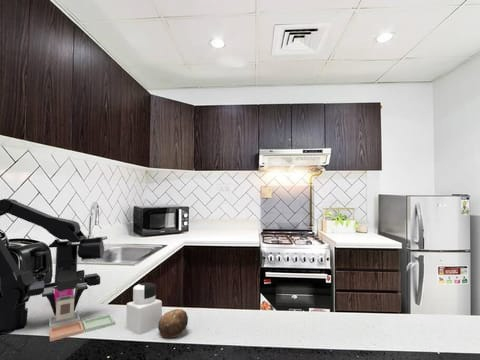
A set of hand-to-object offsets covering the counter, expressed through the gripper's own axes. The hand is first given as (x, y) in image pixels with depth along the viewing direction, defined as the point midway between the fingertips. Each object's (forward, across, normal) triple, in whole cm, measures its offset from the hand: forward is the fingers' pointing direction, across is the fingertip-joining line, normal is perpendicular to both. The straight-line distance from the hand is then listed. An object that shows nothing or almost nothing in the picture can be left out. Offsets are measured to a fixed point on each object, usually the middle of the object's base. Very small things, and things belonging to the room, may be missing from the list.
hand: (64, 312), depth 82 cm
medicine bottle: (+3, +18, -21) cm, 28 cm away
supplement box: (+3, +1, +23) cm, 23 cm away
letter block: (+1, 0, 0) cm, 1 cm away
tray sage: (+3, +8, -10) cm, 13 cm away
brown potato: (+3, +23, -30) cm, 38 cm away
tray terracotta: (+3, 0, -10) cm, 10 cm away
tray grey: (+3, 0, 0) cm, 3 cm away
